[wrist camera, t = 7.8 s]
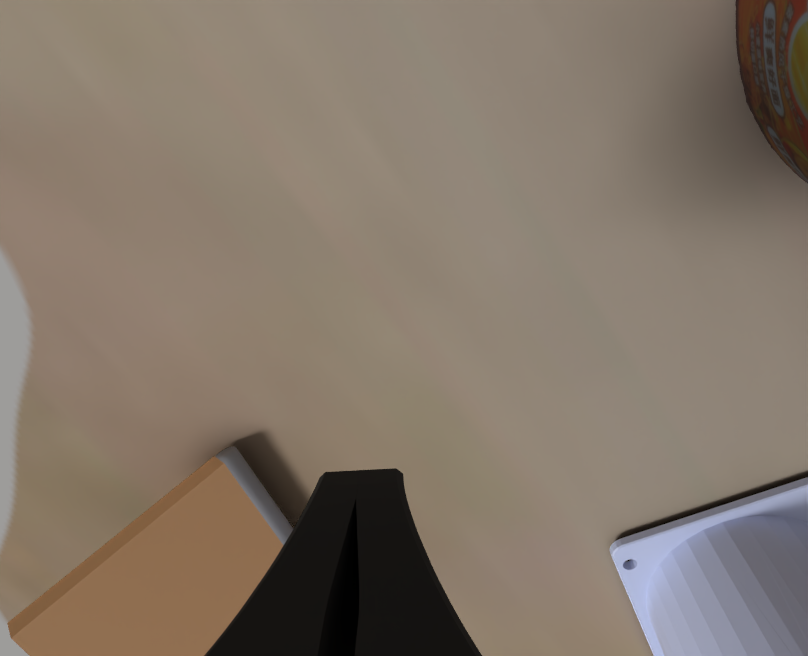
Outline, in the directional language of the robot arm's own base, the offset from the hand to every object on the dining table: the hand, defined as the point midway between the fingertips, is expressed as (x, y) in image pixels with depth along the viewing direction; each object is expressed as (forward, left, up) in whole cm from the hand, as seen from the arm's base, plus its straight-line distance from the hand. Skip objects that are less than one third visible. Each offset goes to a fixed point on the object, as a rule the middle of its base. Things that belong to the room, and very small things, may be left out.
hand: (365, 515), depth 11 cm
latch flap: (-5, +10, -7) cm, 13 cm away
